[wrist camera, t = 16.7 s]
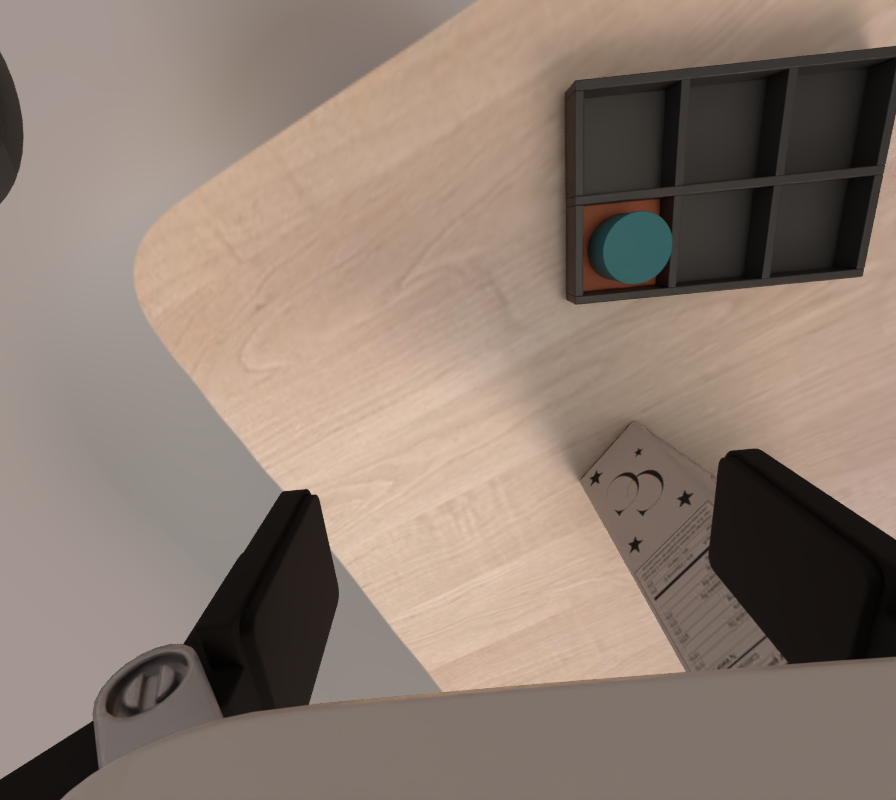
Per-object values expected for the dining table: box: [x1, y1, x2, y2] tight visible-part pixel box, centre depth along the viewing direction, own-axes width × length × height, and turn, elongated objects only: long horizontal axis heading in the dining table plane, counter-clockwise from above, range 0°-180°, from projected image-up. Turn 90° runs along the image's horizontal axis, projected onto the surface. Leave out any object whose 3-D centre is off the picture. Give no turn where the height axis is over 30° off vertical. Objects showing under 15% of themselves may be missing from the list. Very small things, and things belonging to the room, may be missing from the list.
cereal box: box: [581, 422, 789, 672], centre depth 32 cm, size 22×8×25 cm, turn 55°
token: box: [588, 211, 672, 284], centre depth 33 cm, size 5×5×4 cm
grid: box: [565, 46, 896, 305], centre depth 33 cm, size 14×21×3 cm
